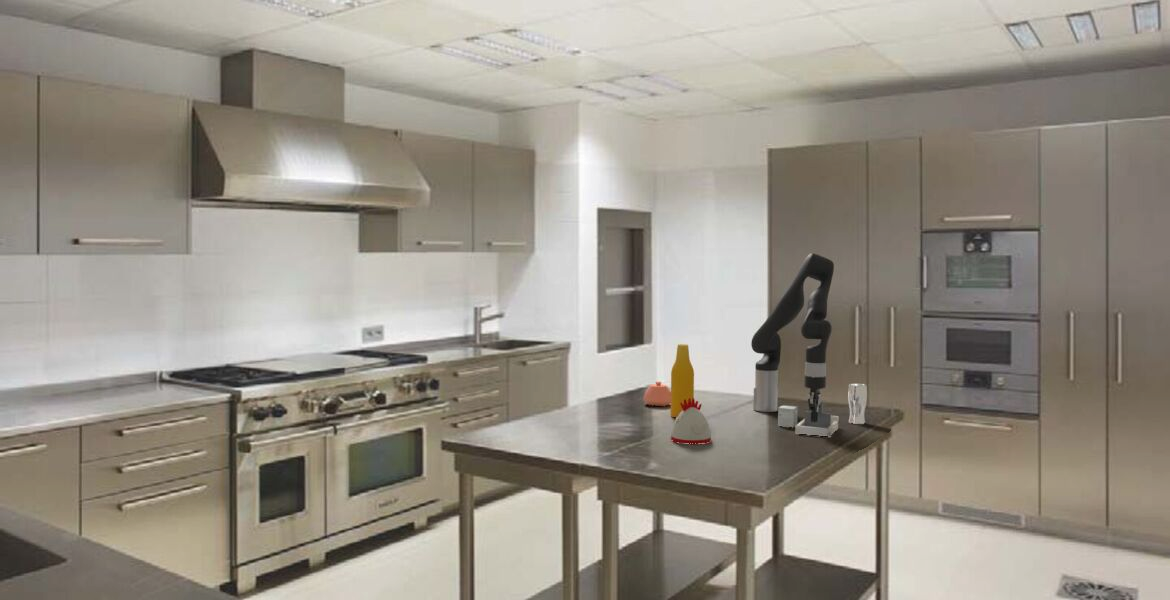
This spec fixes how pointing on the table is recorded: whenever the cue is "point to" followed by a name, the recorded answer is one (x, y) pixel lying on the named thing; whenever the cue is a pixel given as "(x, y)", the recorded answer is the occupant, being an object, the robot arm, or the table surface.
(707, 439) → the beanie hat
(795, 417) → the product box
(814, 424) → the pusher
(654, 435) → the table surface
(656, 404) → the sugar bowl
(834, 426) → the light grey tray
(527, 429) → the table surface
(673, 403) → the beer bottle
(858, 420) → the beer glass
